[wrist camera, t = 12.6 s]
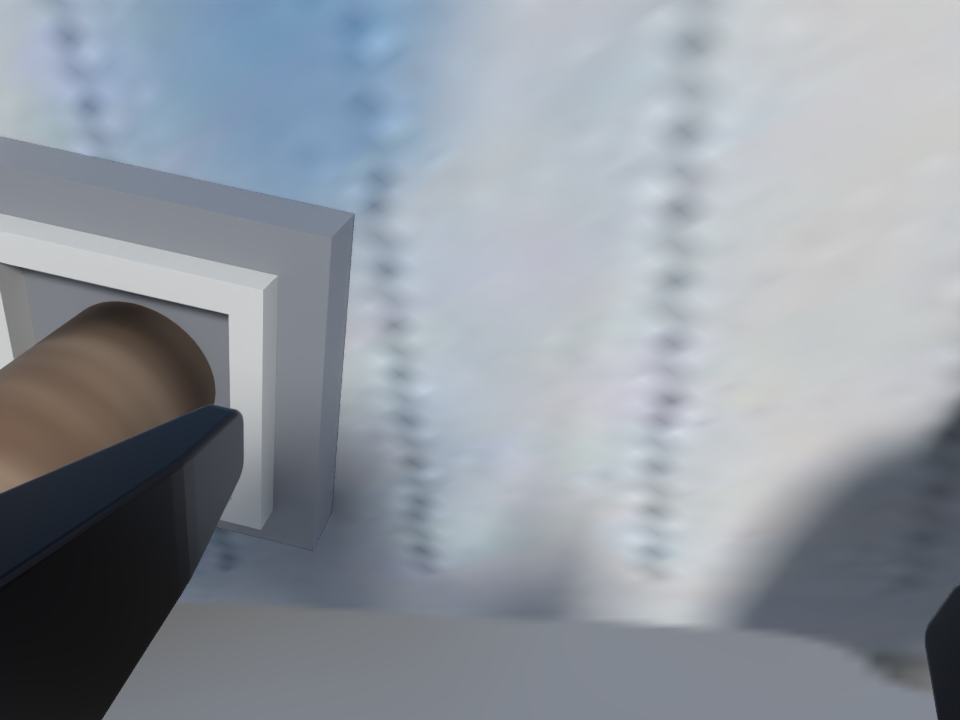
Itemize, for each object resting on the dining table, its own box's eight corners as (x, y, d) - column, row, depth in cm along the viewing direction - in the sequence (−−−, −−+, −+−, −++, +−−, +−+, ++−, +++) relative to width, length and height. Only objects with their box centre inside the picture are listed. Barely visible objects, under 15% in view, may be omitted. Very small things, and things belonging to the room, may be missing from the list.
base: (354, 213, 22) (318, 251, 19) (331, 513, 28) (302, 571, 25) (-26, 131, 22) (-109, 156, 20) (34, 440, 29) (-24, 490, 26)
